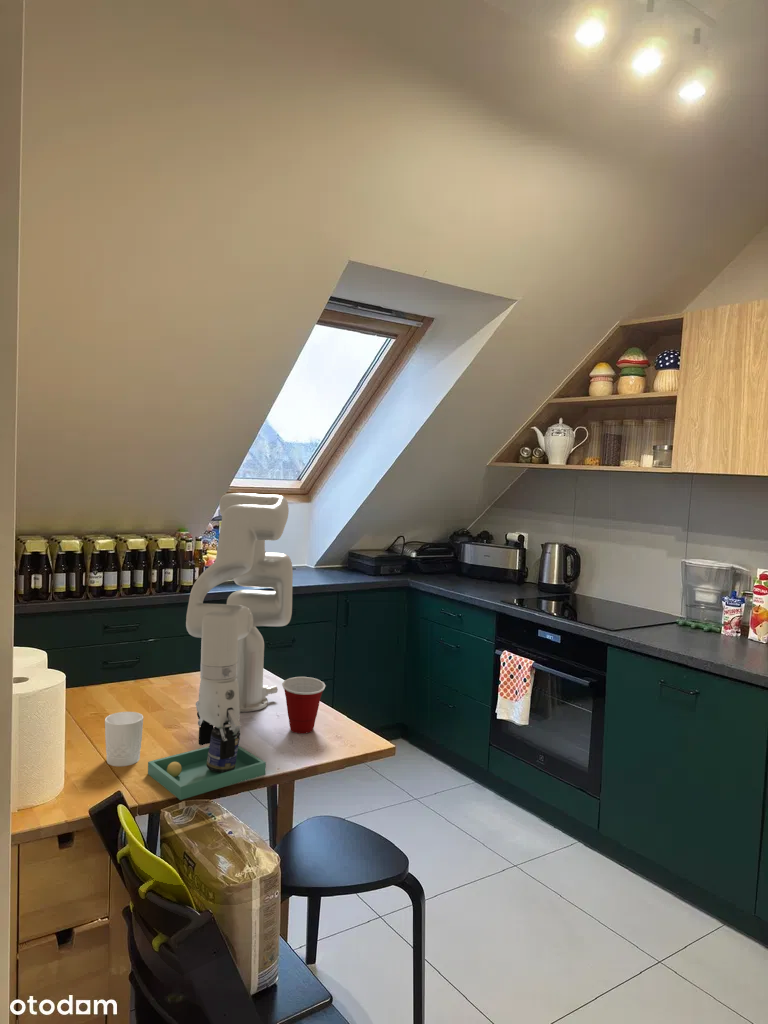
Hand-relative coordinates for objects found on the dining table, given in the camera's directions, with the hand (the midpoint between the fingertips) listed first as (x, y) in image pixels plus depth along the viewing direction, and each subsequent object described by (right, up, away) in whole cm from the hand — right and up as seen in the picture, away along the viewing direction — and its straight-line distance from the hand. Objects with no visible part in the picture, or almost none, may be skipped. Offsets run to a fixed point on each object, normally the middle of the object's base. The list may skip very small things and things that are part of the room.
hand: (216, 750), depth 155 cm
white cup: (-21, -4, +4) cm, 22 cm away
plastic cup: (+15, -4, +28) cm, 32 cm away
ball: (-8, -4, -3) cm, 10 cm away
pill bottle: (+1, -4, +1) cm, 5 cm away
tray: (-2, -5, -1) cm, 6 cm away
